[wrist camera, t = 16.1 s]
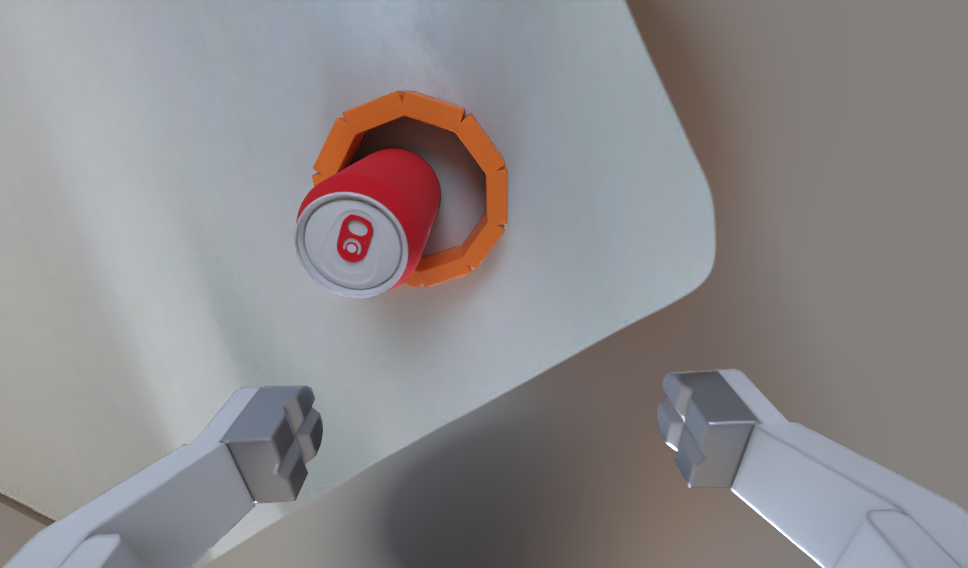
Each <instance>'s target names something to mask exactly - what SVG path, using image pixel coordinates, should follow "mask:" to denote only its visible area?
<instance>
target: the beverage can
mask: <svg viewBox="0 0 968 568" xmlns="http://www.w3.org/2000/svg"><path fill="white" fill-rule="evenodd" d="M440 200H441V190H440V185H439V181H438V179H437V176H436V174H435V172H434V171H433V169H432V168H431V166H430V165H429V164H428V163H427V162H426V161H425V160H424V159H423V158H421V157H420V156H419V155H417V154H415V153H413V152H411V151H409V150H405V149H401V148H385V149H381V150H378V151H376V152H374V153H372V154H370V155H368V156H367V157H365V158H363V159H361V160H359V161H358V162H356V163H354V164H352V165H351V166H349V167H347V168H345V169H343V170H342V171H340V172H338V173H336V174H334V175H333V176H331V177H329V178H327V179H325V180H324V181H322V182H320V183H319V184H317V185H316V186H315V187H314V188H313V189H312V190H311V191H310V192H309V193H308V194H307V196H306V197H305V199H304V200H303V202H302V204H301V207H300V209H299V212H298V216H297V222H296V227H295V233H294V244H295V249H296V253H297V256H298V258H299V261H300V263H301V265H302V266H303V268H304V269H305V271H306V272H307V273H308V274H309V276H310V277H311V278H312V279H313V280H314V281H315V282H317V283H318V284H319V285H320V286H322V287H324V288H325V289H327V290H329V291H331V292H333V293H335V294H338V295H342V296H345V297H352V298H367V297H372V296H376V295H379V294H381V293H383V292H385V291H387V290H389V289H392V288H394V287H396V286H398V285H399V284H401V283H402V282H403V281H405V280H406V279H407V278H408V277H409V276H410V275H411V274H412V273H413V271H414V270H415V269H416V267H417V265H418V263H419V261H420V258H421V256H422V253H423V250H424V248H425V245H426V242H427V239H428V236H429V234H430V231H431V228H432V225H433V223H434V220H435V217H436V214H437V212H438V209H439V205H440Z"/></svg>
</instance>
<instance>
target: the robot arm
mask: <svg viewBox="0 0 968 568" xmlns="http://www.w3.org/2000/svg"><path fill="white" fill-rule="evenodd" d="M662 387H663V389H664V390H665V392H666V395H665V396H664V397H663V398H662V399H661V400H660V401H659V404H658V410H657V416H658V425H659V428H660V432H661V434H662V436H663V438H664V440H665V442H666V444H667V445H669V446H670V447H672V448H673V449H674V450H676V451H677V455H676V458H675V461H676V463H677V465H678V467H679V469H680V471H681V473H682V475H683V477H684V479H685V481H686V482H687V484H688V486H689V488H731V491H733V492H734V493H735V494H736V495H737V496H739V497H740V498H741V499H742V500H743V501H745V502H746V503H747V504H748V505H749V506H750V507H752V508H753V509H754V510H755V511H756V512H758V513H759V514H760V515H761V516H762V517H764V518H765V519H766V520H767V521H768V522H769V523H771V524H772V525H773V526H774V527H775V528H776V529H778V530H779V531H780V532H781V533H782V534H784V535H785V536H786V537H787V538H788V539H790V540H791V541H792V542H793V543H794V544H795V545H797V546H798V547H799V548H800V549H801V550H803V551H804V552H805V553H806V554H807V555H809V556H810V557H811V558H812V559H813V560H814V561H816V562H817V563H818V564H819V565H820V566H822V567H823V568H968V513H967V512H966V511H965V510H963V509H962V508H961V507H960V506H959V505H957V504H955V503H953V502H951V501H949V500H947V499H945V498H943V497H941V496H939V495H938V494H936V493H934V492H932V491H930V490H928V489H926V488H924V487H922V486H920V485H918V484H916V483H914V482H912V481H910V480H908V479H906V478H904V477H902V476H900V475H898V474H897V473H894V472H893V471H891V470H889V469H887V468H885V467H883V466H881V465H879V464H877V463H875V462H873V461H871V460H869V459H867V458H865V457H863V456H861V455H859V454H857V453H855V452H854V451H851V450H850V449H848V448H846V447H844V446H842V445H840V444H838V443H836V442H834V441H832V440H830V439H828V438H826V437H824V436H822V435H820V434H818V433H816V432H814V431H812V430H811V429H809V428H807V427H805V426H803V425H801V424H799V423H789V422H788V421H787V420H786V419H785V417H783V415H782V414H781V413H780V412H779V411H778V410H777V409H776V408H775V407H774V406H773V405H772V404H771V402H769V400H768V399H767V398H766V397H765V396H764V395H763V394H762V393H761V392H760V391H759V390H758V389H757V387H756V386H755V385H754V384H753V383H752V382H751V381H750V380H749V379H748V378H747V377H746V376H745V375H744V373H743V372H741V371H739V370H737V369H723V370H712V371H690V372H668V373H667V374H666V376H665V377H664V380H663V384H662ZM314 401H315V397H314V394H313V391H312V389H311V388H310V387H308V386H264V387H242V388H240V389H238V390H236V391H235V392H234V394H233V395H232V396H231V397H230V398H229V400H228V401H227V402H226V403H225V405H224V406H223V407H222V408H221V409H220V411H219V412H218V413H217V414H216V415H215V417H214V418H213V419H212V420H211V422H210V423H209V424H208V425H207V426H206V428H205V429H204V430H203V431H202V432H201V434H200V435H199V436H198V437H197V439H196V440H195V441H194V442H193V443H192V444H184V445H183V446H181V447H179V448H178V449H176V450H174V451H173V452H171V453H169V454H168V455H166V456H164V457H163V458H161V459H159V460H158V461H156V462H154V463H153V464H151V465H149V466H148V467H146V468H144V469H143V470H141V471H139V472H138V473H136V474H134V475H133V476H131V477H129V478H128V479H126V480H124V481H123V482H121V483H119V484H118V485H116V486H114V487H113V488H111V489H109V490H108V491H106V492H104V493H103V494H101V495H99V496H98V497H96V498H94V499H93V500H91V501H89V502H88V503H86V504H84V505H83V506H81V507H79V508H78V509H76V510H74V511H73V512H71V513H70V514H68V515H66V516H65V517H63V518H61V519H60V520H58V521H56V522H55V523H53V524H51V525H50V526H48V527H46V528H45V529H43V530H41V531H40V532H38V533H36V534H35V535H34V536H33V537H32V538H31V539H30V540H29V541H28V542H27V543H26V544H25V545H24V546H23V547H22V548H21V549H20V550H19V551H18V552H17V553H16V554H15V555H14V556H13V557H12V558H11V559H10V560H9V561H8V562H7V563H6V564H5V565H4V566H3V567H2V568H191V567H192V566H193V565H194V564H195V563H196V562H197V561H198V560H199V559H200V558H202V557H203V556H204V555H205V554H206V553H207V552H208V551H209V550H210V549H211V548H212V547H213V546H214V545H215V544H216V543H217V542H218V541H219V540H220V539H221V538H222V537H223V536H224V535H225V534H226V533H228V532H229V531H230V530H231V529H232V528H233V527H234V526H235V525H236V524H237V523H238V522H239V521H240V520H241V519H242V518H243V517H244V516H245V515H246V514H247V513H248V512H249V511H250V510H251V509H252V508H254V507H255V504H256V503H272V502H288V501H295V500H296V498H297V496H298V494H299V492H300V489H301V487H302V485H303V483H304V481H305V479H306V476H307V474H308V472H307V469H306V466H305V464H306V463H308V462H309V461H310V460H311V459H312V458H314V457H315V456H316V454H317V452H318V450H319V447H320V445H321V440H322V434H323V425H322V419H321V416H320V413H319V412H317V411H316V410H315V409H314V408H312V407H311V406H312V404H313V402H314Z"/></svg>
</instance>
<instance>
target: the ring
mask: <svg viewBox="0 0 968 568" xmlns="http://www.w3.org/2000/svg"><path fill="white" fill-rule="evenodd" d="M464 112H465V108H463V107H460V106H457V105H454V104H451V103H448V102H445V101H442V100H439V99H436V98H433V97H430V96H427V95H424V94H421V93H417V92H414V91H395V92H393V93H390V94H388V95H386V96H383V97H381V98H378V99H376V100H373V101H371V102H368V103H366V104H363V105H361V106H358V107H356V108H353V109H351V110H348V111H346V112H343V116H344V117H341V118H337V119H336V121H335V123H334V125H333V128H332V130H331V132H330V134H329V136H328V138H327V140H326V142H325V144H324V146H323V148H322V150H321V152H320V154H319V156H318V158H317V161H316V163H315V165H314V167H313V169H314V170H316V171H317V172H318V173H316V174H314V175H312V177H313V182H314V187H315V186H316V185H317V184H319V183H320V182H322V181H324V180H325V179H327V178H329V177H331V176H333V175H334V174H336V173H338V172H340V171H342V170H343V169H345V168H347V167H348V166H349V164H350V163H351V161H352V159H353V157H354V155H355V153H356V151H357V149H358V147H359V145H360V143H361V142H362V140H363V138H364V136H365V134H366V132H367V131H368V130H370V129H373V128H375V127H378V126H381V125H383V124H386V123H388V122H391V121H393V120H396V119H398V118H401V117H403V116H405V117H408V118H412V119H415V120H418V121H421V122H424V123H427V124H431V125H434V126H437V127H440V128H443V129H446V130H450V131H453V132H455V133H456V134H457V136H458V137H459V139H460V140H461V141H462V143H463V144H464V145H465V147H466V148H467V149H468V151H469V152H470V153H471V155H472V156H473V157H474V159H475V160H476V161H477V163H478V164H479V165H480V167H481V168H482V169H483V171H484V172H485V173H486V212H485V214H484V215H483V217H482V218H481V220H480V221H479V222H478V224H477V225H476V227H475V228H474V229H473V231H472V232H471V234H470V235H469V236H468V238H467V239H466V241H465V242H464V244H463V245H460V246H457V247H454V248H451V249H448V250H445V251H442V252H439V253H437V254H434V255H431V256H428V257H421V258H420V261H419V263H418V265H417V267H416V269H415V270H414V271H413V273H412V274H411V275H410V276H409V277H408V278H407V279H406V280H405V281H403V282H402V283H401V284H404V285H408V286H411V287H415V288H419V287H420V283H421V281H422V283H423V285H424V287H425V288H427V287H430V286H433V285H436V284H439V283H442V282H445V281H448V280H451V279H454V278H458V277H461V276H464V275H467V274H470V273H471V267H472V268H474V269H475V270H476V269H477V267H478V266H479V265H480V263H481V262H482V261H483V259H484V258H485V257H486V255H487V254H488V253H489V251H490V250H491V249H492V247H493V246H494V245H495V243H496V242H497V241H498V239H499V238H500V237H501V235H502V234H503V233H504V231H505V229H504V224H507V169H506V166H505V162H504V159H503V157H502V155H501V154H500V152H499V151H498V150H497V148H496V147H495V145H494V144H493V143H492V141H491V140H490V138H489V137H488V136H487V134H486V133H485V131H484V130H483V129H482V127H481V126H480V124H479V123H478V121H477V120H476V119H475V117H474V116H473V114H472V113H469V114H468V115H467V116H466V117H465V118H463V116H464Z"/></svg>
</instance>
